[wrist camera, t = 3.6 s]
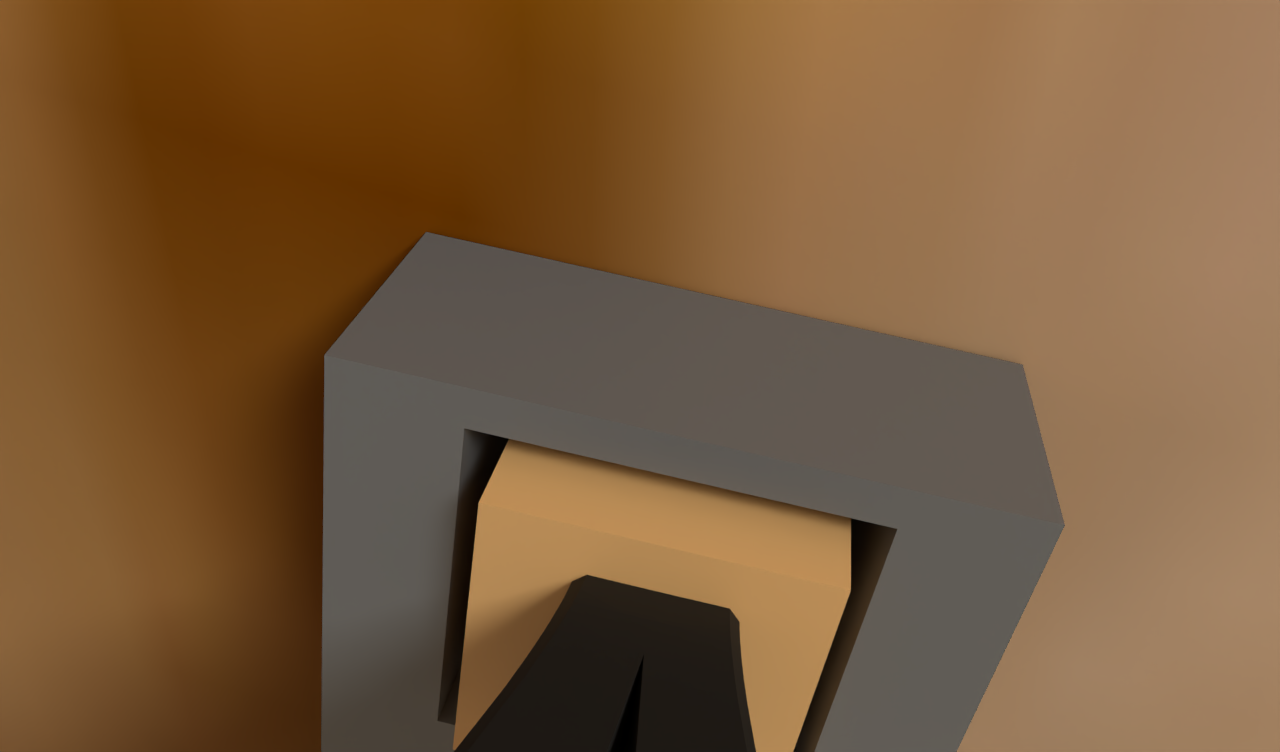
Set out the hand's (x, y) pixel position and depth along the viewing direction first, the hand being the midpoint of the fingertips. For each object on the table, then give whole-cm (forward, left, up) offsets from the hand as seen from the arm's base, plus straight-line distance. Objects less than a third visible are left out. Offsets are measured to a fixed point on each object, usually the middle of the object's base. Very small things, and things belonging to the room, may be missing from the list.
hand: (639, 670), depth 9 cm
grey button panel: (0, -6, -3) cm, 6 cm away
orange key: (0, 0, -2) cm, 2 cm away
